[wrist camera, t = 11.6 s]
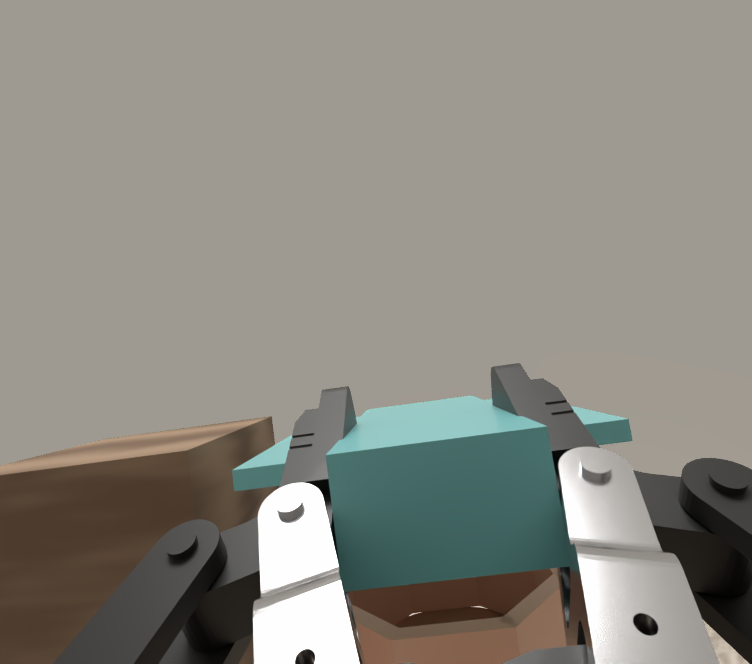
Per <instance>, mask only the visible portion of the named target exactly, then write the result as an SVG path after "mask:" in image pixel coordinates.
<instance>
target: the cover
mask: <svg viewBox="0 0 752 664" xmlns="http://www.w3.org/2000/svg"><path fill="white" fill-rule="evenodd" d="M571 407H572V409H573V410H574V413H576V414H577V416H578V417H579V418H580V420H581V421H582V423H583V424H584V426H585V427H586V428H587V430H588V431H589V433H590V434H591V435H592V437H593V438H594V440H595V441H596V442H597V444H598V445H603V444H612V443H619V442H627V441H632V436H631V430H630V425H629V419H626V418H622V417H618V416H613V415H609V414H605V413H600V412H596V411H591V410H587V409H582V408H578V407H573V406H571ZM356 421H357V424H356V425H355V426H354V427H353V428H352V430H351V431H350V432H349V433H348V434H347V435H346V436H345V438H344V439H343V440H339V441H338V442H337V443H336V444H335V445H334V446H333V447H332V448H331V450H330V451H329V452H328V453H327V454H326V463H327V471H328V479H329V487H330V495H331V503H332V511H333V519H334V527H335V535H336V543H337V551H338V559H339V566H340V571H341V575H342V579H343V584H344V588H345V592H347V591H356V590H365V589H374V588H383V587H392V586H401V585H409V584H418V583H427V582H436V581H445V580H454V579H462V578H471V577H480V576H489V575H498V574H507V573H516V572H524V571H533V570H542V569H551V568H560V567H569V558H568V551H567V544H566V537H565V530H564V523H563V517H562V510H561V504H560V498H559V492H558V486H557V480H556V474H555V468H554V463H553V457H552V451H551V445H550V439H549V433H548V427H547V426H546V425H543V424H541V423H538V422H536V421H533V420H531V419H528V418H526V417H523V416H516V415H514V414H512V413H509V412H507V411H505V410H502V409H500V408H498V407H495V406H493V405H492V399H488V400H482V399H479V398H477V397H474V396H465V397H458V398H450V399H444V400H435V401H428V402H421V403H413V404H406V405H398V406H391V407H383V408H376V409H368V410H367V411H366V412H365V413H364V414H363V415H362V416H361V417H356ZM291 439H292V435H291V436H289V437H288V438H286V439H284V440H283V441H281V442H279V443H277V444H276V445H274V446H272V447H271V448H269V449H267V450H266V451H264V452H262V453H260V454H259V455H257V456H255V457H254V458H252V459H250V460H249V461H247V462H245V463H243V464H242V465H240V466H238V467H237V468H235V469H233V470H232V476H233V485H234V491H241V490H249V489H257V488H265V487H273V486H280V482H281V478H282V474H283V470H284V466H285V462H286V458H287V454H288V450H290V448H289V446H290V442H291Z"/></svg>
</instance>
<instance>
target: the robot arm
mask: <svg viewBox="0 0 752 664" xmlns="http://www.w3.org/2000/svg"><path fill="white" fill-rule="evenodd" d="M491 385H492V405H493V406H495V407H498V408H500V409H502V410H505V411H507V412H509V413H512V414H514V415H516V416H523V417H526V418H528V419H531V420H533V421H536V422H538V423H541V424H543V425H546V426H547V427H548V433H549V439H550V445H551V451H552V457H553V463H554V468H555V474H556V480H557V486H558V492H559V498H560V504H561V510H562V517H563V523H564V530H565V537H566V544H567V551H568V558H569V567H560V568H557V570H558V579H559V587H560V595H561V604H562V612H563V620H564V629H565V638H566V647H556V648H547V649H537V650H532V651H530V652H528V653H525V654H523V655H521V656H518V657H516V658H514V659H511V660H509V661H507V662H504V663H502V664H719V661H718V658H717V656H716V653H715V651H714V648H713V646H712V643H711V640H710V638H709V635H708V633H707V630H706V627H705V625H704V622H703V620H704V621H705V622H706V623H707V624H708V625H709V626H710V627H711V628H713V629H714V630H715V631H716V632H717V633H718V634H719V635H720V636H721V637H722V638H723V639H724V640H725V641H726V642H727V643H728V644H729V645H731V646H732V647H733V648H734V649H735V650H736V651H737V652H738V653H739V654H740V655H741V656H742V657H743V658H744V659H745V660H746V661H747V662H749V663H750V664H752V470H751V469H749V468H747V467H745V466H743V465H741V464H738V463H735V462H732V461H728V460H723V459H716V458H702V459H696V460H694V461H691V462H689V463H687V464H686V465H685V466H684V468H683V470H682V476H681V477H674V476H666V475H656V474H648V473H642V472H638V471H634V470H633V469H632V467H631V466H630V465H629V463H628V462H627V461H626V460H624V459H623V458H622V457H620V456H619V455H617V454H615V453H613V452H611V451H609V450H605V449H602V448H600V447H599V445H598V444H597V442H596V441H595V440H594V438H593V437H592V435H591V434H590V433H589V431H588V430H587V428H586V427H585V426H584V424H583V423H582V421H581V420H580V418H579V417H578V416H577V414H576V413H574V410H573V409H572V407H571V406H570V404H569V403H568V402H567V401H566V399H565V397H564V396H563V394H562V393H561V392H560V390H559V389H558V388H557V387H556V386H554V385H552V384H551V383H549V382H547V381H546V380H544V379H535V380H530V378H529V377H528V375H527V374H526V372H525V370H524V369H523V367H522V366H521V364H519V363H517V364H509V365H502V366H495V367H492V368H491ZM356 424H357V421H356V416H355V412H354V406H353V402H352V397H351V392H350V389H349V387H348V386H347V387H340V388H333V389H326V390H322V393H321V398H320V404H319V408H318V409H311V410H306V411H305V412H304V413H303V414H302V415H301V416H300V418H299V419H298V420H297V421H296V423H295V426H294V430H293V434H292V439H291V442H290V446H289V448H290V450H288V454H287V458H286V462H285V466H284V470H283V474H282V478H281V482H280V486H279V489H277V490H276V491H274V492H273V493H271V494H270V495H269V496H268V497H267V498H266V499H265V500H264V502H263V503H262V505H261V507H260V509H259V512H258V516H257V517H255V518H254V519H252V520H250V521H248V522H246V523H243V524H241V525H238V526H235V527H233V528H230V529H228V530H225V531H223V532H219V530H218V528H217V526H216V525H215V524H214V523H213V522H211V521H208V520H202V519H199V520H192V521H188V522H185V523H182V524H180V525H178V526H176V527H174V528H173V529H171V530H170V531H168V532H167V533H166V534H165V535H163V536H162V537H161V538H160V539H159V540H158V541H157V542H156V544H155V545H154V546H153V547H152V548H151V549H150V551H149V552H148V553H147V554H146V555H145V556H144V558H143V559H142V560H141V561H140V562H139V563H138V565H137V566H136V567H135V568H134V569H133V570H132V572H131V573H130V574H129V575H128V576H127V577H126V579H125V580H124V581H123V582H122V583H121V584H120V586H119V587H118V588H117V589H116V590H115V591H114V593H113V594H112V595H111V596H110V597H109V598H108V600H107V601H106V602H105V603H104V604H103V605H102V607H101V608H100V609H99V610H98V611H97V612H96V614H95V615H94V616H93V617H92V618H91V619H90V621H89V622H88V623H87V624H86V625H85V626H84V628H83V629H82V630H81V631H80V632H79V633H78V635H77V636H76V637H75V638H74V639H73V640H72V642H71V643H70V644H69V645H68V646H67V647H66V649H65V650H64V651H63V652H62V653H61V654H60V656H59V657H58V658H57V659H56V660H55V661H54V663H53V664H239V662H240V660H241V658H242V656H243V654H244V652H245V651H246V649H247V647H248V645H249V643H250V641H251V639H252V637H253V646H254V664H365V660H364V656H363V652H362V648H361V643H360V639H359V635H358V631H357V626H356V622H355V618H354V614H353V609H352V605H351V601H350V597H349V592H348V591H347V592H345V588H344V584H343V579H342V575H341V571H340V566H339V559H338V551H337V543H336V535H335V527H334V519H333V511H332V503H331V495H330V487H329V479H328V471H327V463H326V454H327V453H328V452H329V451H330V450H331V448H332V447H333V446H334V445H335V444H336V443H337V442H338V441H339V440H343V439H344V438H345V436H346V435H347V434H348V433H349V432H350V431H351V430H352V428H353V427H354V426H355V425H356ZM702 619H703V620H702ZM401 664H414V663H401Z"/></svg>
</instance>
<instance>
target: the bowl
mask: <svg viewBox="0 0 752 664" xmlns="http://www.w3.org/2000/svg"><path fill="white" fill-rule="evenodd" d="M348 592H349V597H350V601H351V605H352V609H353V614H354V618H355V622H356V626H357V631H358V635H359V639H360V643H361V648H362V652H363V656H364V660H365V664H401V663H414V664H502V663H504V662H507V661H509V660H511V659H514V658H516V657H518V656H521V655H523V654H525V653H528V652H530V651H532V650H537V649H547V648H556V647H566V638H565V629H564V620H563V612H562V604H561V595H560V587H559V579H558V570H557V568H551V569H542V570H533V571H524V572H516V573H507V574H498V575H489V576H480V577H471V578H462V579H454V580H445V581H436V582H427V583H418V584H409V585H401V586H392V587H383V588H374V589H365V590H356V591H348ZM473 606H482V607H485V608H488V609H485V608H477V607H473ZM417 612H421V613H418V614H415V615H412V616H409V615H410V614H412V613H417ZM408 616H409V617H408ZM406 617H407V618H406Z"/></svg>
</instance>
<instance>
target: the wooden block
mask: <svg viewBox="0 0 752 664" xmlns="http://www.w3.org/2000/svg"><path fill="white" fill-rule="evenodd" d="M274 445H275V441H274V432H273V424H272V417H264V418H256V419H249V420H242V421H234V422H226V423H219V424H212V425H205V426H197V427H190V428H182V429H175V430H168V431H160V432H153V433H145V434H139V435H131V436H124V437H117V438H108V439H103V440H99V441H95V442H92V443H88V444H84V445H80V446H76V447H72V448H68V449H64V450H60V451H56V452H52V453H49V454H44V455H41V456H37V457H33V458H29V459H25V460H21V461H17V462H14V463H9V464H6V465H1V466H0V664H53V663H54V661H55V660H56V659H57V658H58V657H59V656H60V654H61V653H62V652H63V651H64V650H65V649H66V647H67V646H68V645H69V644H70V643H71V642H72V640H73V639H74V638H75V637H76V636H77V635H78V633H79V632H80V631H81V630H82V629H83V628H84V626H85V625H86V624H87V623H88V622H89V621H90V619H91V618H92V617H93V616H94V615H95V614H96V612H97V611H98V610H99V609H100V608H101V607H102V605H103V604H104V603H105V602H106V601H107V600H108V598H109V597H110V596H111V595H112V594H113V593H114V591H115V590H116V589H117V588H118V587H119V586H120V584H121V583H122V582H123V581H124V580H125V579H126V577H127V576H128V575H129V574H130V573H131V572H132V570H133V569H134V568H135V567H136V566H137V565H138V563H139V562H140V561H141V560H142V559H143V558H144V556H145V555H146V554H147V553H148V552H149V551H150V549H151V548H152V547H153V546H154V545H155V544H156V542H157V541H158V540H159V539H160V538H161V537H162V536H163V535H165V534H166V533H167V532H168V531H170V530H171V529H173V528H174V527H176V526H178V525H180V524H182V523H185V522H188V521H192V520H199V519H202V520H208V521H211V522H213V523H214V524H215V525H216V526H217V528H218V530H219V532H223V531H225V530H228V529H230V528H233V527H235V526H238V525H241V524H243V523H246V522H248V521H250V520H252V519H254V518H255V517H257V516H258V512H259V509H260V507H261V505H262V503H263V502H264V500H265V499H266V498H267V497H268V496H269V495H270V494H271V493H273V492H274V491H276V490H277V489H279V486H273V487H265V488H257V489H249V490H241V491H234V485H233V476H232V470H233V469H235V468H237V467H238V466H240V465H242V464H243V463H245V462H247V461H249V460H250V459H252V458H254V457H255V456H257V455H259V454H260V453H262V452H264V451H266V450H267V449H269V448H271V447H272V446H274ZM239 664H254V646H253V637H252V639H251V641H250V643H249V645H248V647H247V649H246V651H245V652H244V654H243V656H242V658H241V660H240V662H239Z"/></svg>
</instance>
